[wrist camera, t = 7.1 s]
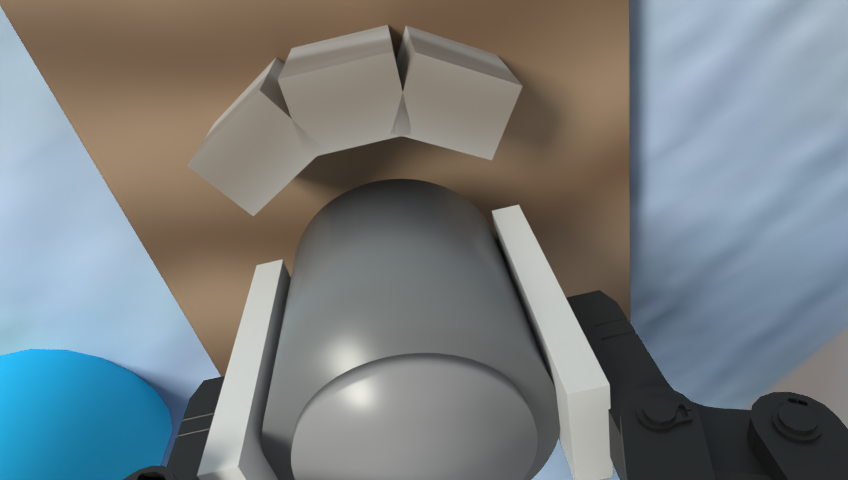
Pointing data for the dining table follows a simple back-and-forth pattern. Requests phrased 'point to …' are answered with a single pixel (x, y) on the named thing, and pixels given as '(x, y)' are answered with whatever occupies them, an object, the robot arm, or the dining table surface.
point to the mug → (77, 418)
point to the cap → (406, 348)
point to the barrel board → (226, 40)
